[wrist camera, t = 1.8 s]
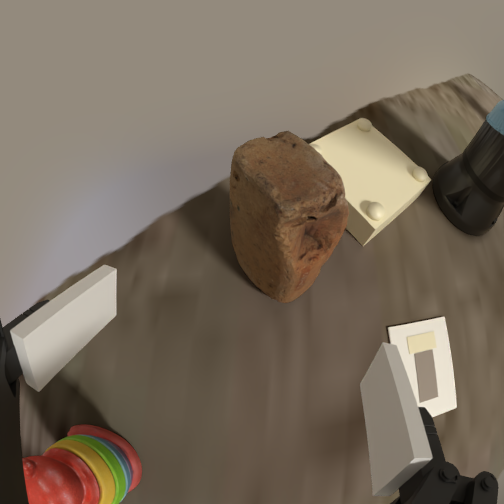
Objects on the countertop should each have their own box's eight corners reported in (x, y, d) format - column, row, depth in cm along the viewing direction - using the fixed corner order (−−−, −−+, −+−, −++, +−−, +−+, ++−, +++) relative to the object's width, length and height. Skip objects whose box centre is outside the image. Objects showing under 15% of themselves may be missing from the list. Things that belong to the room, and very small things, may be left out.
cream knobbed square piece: (354, 137, 52) (363, 113, 46) (418, 196, 47) (434, 175, 41) (291, 172, 47) (296, 146, 42) (362, 246, 42) (378, 225, 37)
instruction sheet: (443, 316, 38) (444, 316, 37) (455, 407, 32) (457, 407, 32) (387, 327, 37) (388, 327, 37) (399, 427, 31) (400, 427, 31)
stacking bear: (68, 423, 30) (-24, 429, 14) (133, 423, 31) (56, 441, 15) (86, 495, 26) (8, 533, 10) (153, 498, 27) (96, 559, 11)
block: (227, 251, 41) (217, 144, 23) (273, 224, 43) (291, 113, 25) (274, 317, 38) (304, 248, 20) (320, 285, 40) (379, 199, 21)
